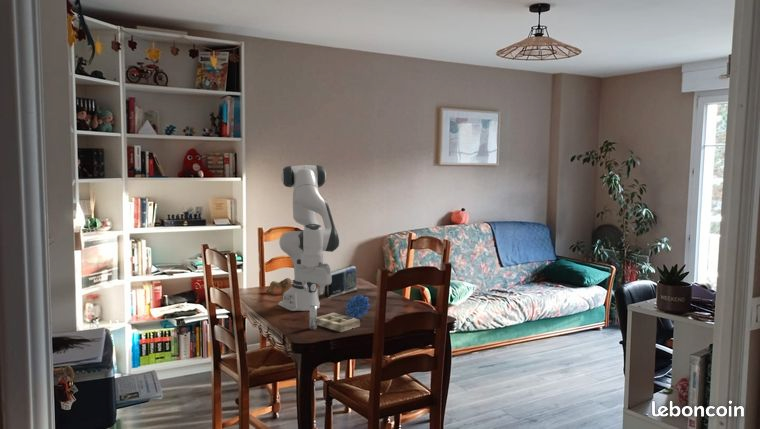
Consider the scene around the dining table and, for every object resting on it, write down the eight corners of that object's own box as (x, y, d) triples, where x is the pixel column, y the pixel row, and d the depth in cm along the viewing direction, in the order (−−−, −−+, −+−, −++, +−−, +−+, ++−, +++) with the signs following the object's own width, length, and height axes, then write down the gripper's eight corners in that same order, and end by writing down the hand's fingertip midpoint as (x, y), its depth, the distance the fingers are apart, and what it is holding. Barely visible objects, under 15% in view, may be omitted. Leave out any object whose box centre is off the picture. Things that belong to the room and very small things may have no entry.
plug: (308, 328, 249) (308, 306, 248) (313, 326, 251) (313, 304, 250) (312, 329, 246) (313, 307, 246) (318, 328, 249) (318, 306, 248)
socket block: (314, 324, 255) (314, 317, 254) (333, 318, 264) (333, 312, 263) (341, 332, 244) (341, 324, 243) (360, 326, 253) (360, 319, 252)
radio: (327, 298, 302) (327, 271, 301) (317, 295, 308) (318, 269, 307) (360, 292, 318) (360, 266, 316) (350, 289, 324) (350, 264, 323)
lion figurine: (292, 293, 313) (292, 277, 312) (289, 295, 308) (289, 279, 307) (267, 291, 316) (267, 276, 315) (264, 293, 310) (264, 278, 310)
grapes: (369, 316, 269) (369, 291, 268) (370, 320, 262) (370, 295, 261) (344, 316, 267) (344, 292, 266) (345, 320, 261) (345, 295, 259)
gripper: (335, 263, 241) (335, 294, 242) (303, 258, 255) (303, 288, 256) (324, 264, 236) (324, 297, 238) (292, 259, 250) (293, 290, 251)
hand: (313, 292), depth 247 cm, fingers open, 8 cm apart
